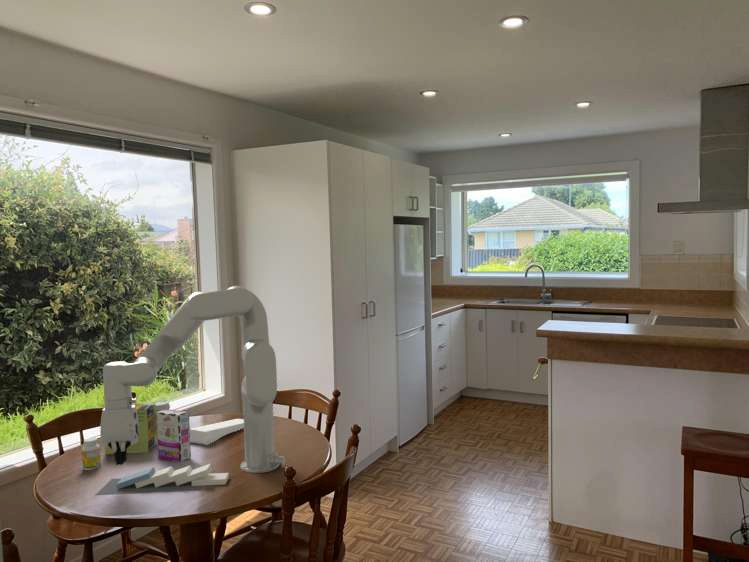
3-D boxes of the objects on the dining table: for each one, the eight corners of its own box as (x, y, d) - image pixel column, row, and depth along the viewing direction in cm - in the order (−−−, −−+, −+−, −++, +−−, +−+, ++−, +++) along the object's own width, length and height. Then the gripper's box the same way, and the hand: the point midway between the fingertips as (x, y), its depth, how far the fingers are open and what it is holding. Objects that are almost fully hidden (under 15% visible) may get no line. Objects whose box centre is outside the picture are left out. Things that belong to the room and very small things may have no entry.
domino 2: (160, 480, 174) (191, 470, 175) (155, 487, 169) (187, 476, 170) (159, 476, 174) (190, 465, 175) (153, 482, 169) (185, 471, 170)
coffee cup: (151, 430, 228) (150, 401, 228) (173, 429, 229) (172, 399, 228) (145, 437, 220) (144, 406, 219) (168, 435, 221) (166, 405, 220)
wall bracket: (236, 436, 236) (187, 449, 210) (234, 419, 237) (185, 429, 212) (256, 433, 231) (208, 446, 206) (253, 415, 233) (205, 425, 208)
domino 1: (142, 481, 174) (173, 471, 175) (136, 488, 169) (168, 477, 170) (140, 476, 174) (172, 466, 174) (134, 483, 169) (166, 472, 169)
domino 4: (196, 479, 175) (228, 477, 175) (191, 485, 170) (225, 484, 170) (195, 474, 175) (228, 472, 175) (191, 480, 170) (225, 479, 170)
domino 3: (181, 479, 175) (212, 468, 175) (176, 485, 170) (208, 474, 170) (180, 474, 175) (210, 463, 175) (175, 481, 170) (206, 469, 170)
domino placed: (124, 482, 174) (155, 471, 174) (117, 489, 169) (150, 478, 169) (122, 477, 174) (153, 467, 174) (116, 484, 169) (148, 473, 169)
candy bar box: (192, 458, 195) (190, 411, 194) (180, 463, 190) (178, 415, 190) (168, 453, 200) (166, 408, 199) (157, 458, 196) (155, 411, 195)
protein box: (149, 452, 202) (147, 409, 201) (104, 455, 201) (102, 411, 200) (158, 443, 212) (156, 402, 212) (115, 445, 211) (113, 404, 210)
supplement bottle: (100, 469, 187) (99, 440, 187) (82, 472, 185) (80, 443, 184) (100, 463, 192) (99, 435, 192) (83, 466, 190) (81, 438, 189)
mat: (208, 476, 179) (208, 474, 179) (199, 491, 167) (199, 490, 167) (111, 480, 177) (111, 478, 177) (94, 496, 165) (94, 495, 165)
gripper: (147, 399, 174) (150, 457, 175) (98, 401, 174) (101, 459, 174) (138, 405, 167) (141, 466, 168) (87, 407, 166) (90, 469, 167)
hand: (121, 463), depth 171 cm, fingers closed
